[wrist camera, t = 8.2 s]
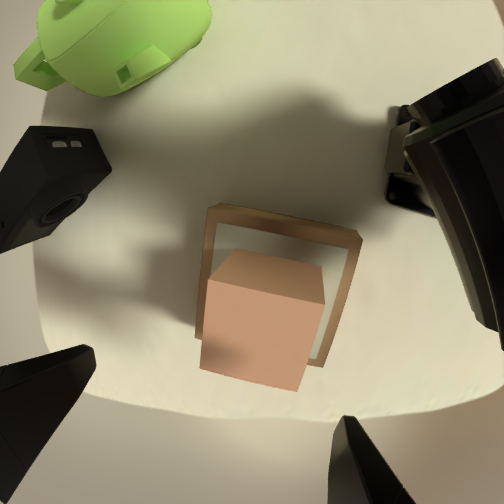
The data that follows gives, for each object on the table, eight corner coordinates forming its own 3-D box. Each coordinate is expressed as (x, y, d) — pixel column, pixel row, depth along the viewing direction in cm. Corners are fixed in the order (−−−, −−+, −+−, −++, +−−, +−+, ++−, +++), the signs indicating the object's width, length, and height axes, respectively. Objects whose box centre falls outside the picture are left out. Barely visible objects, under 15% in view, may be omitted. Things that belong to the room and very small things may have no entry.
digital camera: (54, 246, 24) (0, 269, 17) (33, 199, 23) (-22, 213, 16) (120, 183, 21) (54, 194, 14) (93, 129, 20) (28, 125, 13)
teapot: (77, 97, 19) (-15, 85, 10) (121, -15, 15) (53, -59, 6) (196, 115, 18) (107, 83, 9) (247, -18, 14) (206, -102, 5)
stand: (356, 230, 18) (363, 240, 16) (322, 347, 21) (323, 368, 18) (220, 203, 19) (207, 208, 17) (206, 321, 22) (193, 339, 20)
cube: (302, 339, 18) (297, 391, 13) (225, 322, 19) (199, 368, 14) (321, 266, 17) (325, 304, 12) (236, 248, 17) (208, 279, 13)
